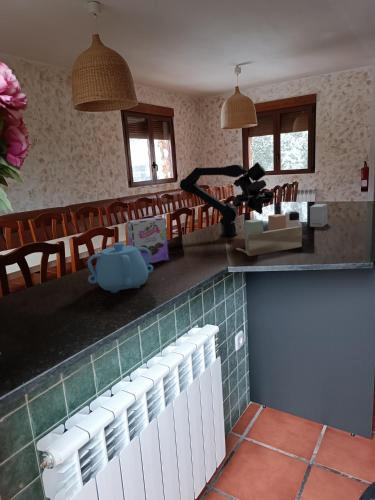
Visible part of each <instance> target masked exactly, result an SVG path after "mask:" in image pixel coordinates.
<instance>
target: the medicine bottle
mask: <svg viewBox="0 0 375 500" xmlns="http://www.w3.org/2000/svg"><path fill="white" fill-rule="evenodd" d="M284 215H286V228H290V227H297V226H300V227H302V228H303V224H302V223H301V222H300V213H299V211H295V210H294V211H293V210H292V211H287V212H285V213H284Z"/></svg>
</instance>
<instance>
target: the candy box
mask: <svg viewBox="0 0 375 500" xmlns="http://www.w3.org/2000/svg"><path fill="white" fill-rule="evenodd" d="M126 231H127V239H128V246H134V247H136V248H139V247H145V248H147V249H148V250H149V251H150V253H151V257H150V262H149V265H151V264H156V263H159V262H166V261H169V260H170V257H169V256H170V255H169V254H170V253H169V244H168V243H169V242H168V231H167V221H166V217H162V216H155V217H148V218H140V219H133V220H126ZM139 252H140V254H141V255H142V257H143V259H144V261H145V263H146V259H147V252H146V251H144V250H141V251H139Z"/></svg>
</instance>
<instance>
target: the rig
mask: <svg viewBox="0 0 375 500" xmlns="http://www.w3.org/2000/svg"><path fill="white" fill-rule="evenodd" d="M302 240H303V226H302V227H300V226H297V227H290V228H284V229H278V230H271V231H268V230H267V231H263V232H258V233H252V234H247V251H246V249H243V248H240V247H236V248H235V249H236V250H237V251H239V252H243V253H245V254H246V256H249V257H252V256H258V255H263V254H269V253H273V252H274V253H275V252H279V251H284V250H286V251H287V250H290V249H297V248H301V247H302V245H303V244H302V243H303V241H302Z"/></svg>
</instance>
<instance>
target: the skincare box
mask: <svg viewBox="0 0 375 500" xmlns="http://www.w3.org/2000/svg"><path fill="white" fill-rule="evenodd" d="M327 224H328V203H318V204H317V203H314V204H313V205H311V206H309V227H310V228H313V227H314V228H323V227H324V226H326V225H327Z"/></svg>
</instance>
